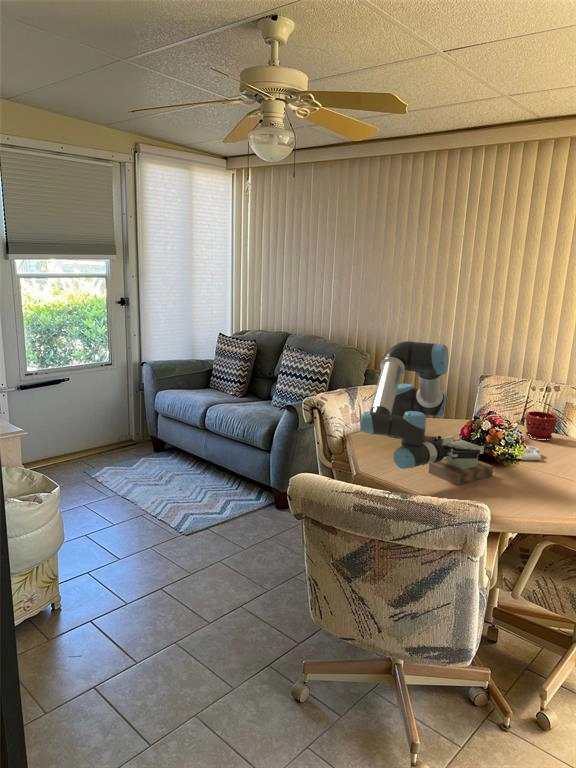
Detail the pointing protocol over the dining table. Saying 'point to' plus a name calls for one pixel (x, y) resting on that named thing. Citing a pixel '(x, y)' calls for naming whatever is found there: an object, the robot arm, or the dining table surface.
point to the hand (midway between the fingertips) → (467, 444)
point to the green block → (462, 462)
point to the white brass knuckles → (531, 453)
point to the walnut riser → (460, 472)
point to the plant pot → (540, 424)
